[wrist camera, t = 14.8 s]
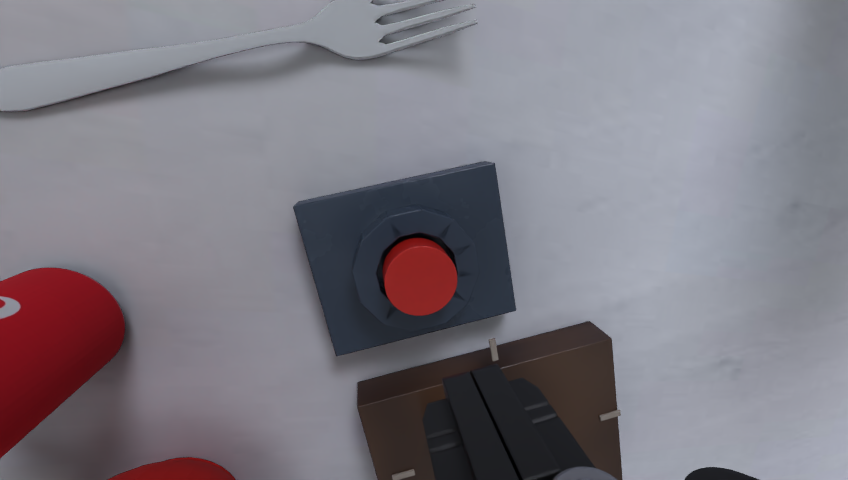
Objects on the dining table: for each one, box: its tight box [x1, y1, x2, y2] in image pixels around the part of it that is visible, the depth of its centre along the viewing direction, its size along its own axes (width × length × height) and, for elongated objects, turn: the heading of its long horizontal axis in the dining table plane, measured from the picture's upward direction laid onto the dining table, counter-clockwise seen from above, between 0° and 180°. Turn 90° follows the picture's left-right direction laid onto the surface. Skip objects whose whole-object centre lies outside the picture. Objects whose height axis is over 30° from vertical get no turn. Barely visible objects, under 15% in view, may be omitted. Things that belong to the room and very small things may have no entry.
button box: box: [293, 161, 516, 356], centre depth 22 cm, size 11×9×4 cm
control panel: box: [357, 321, 622, 480], centre depth 27 cm, size 16×15×3 cm
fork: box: [0, 0, 477, 112], centre depth 19 cm, size 3×24×2 cm, turn 102°
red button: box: [382, 238, 457, 316], centre depth 20 cm, size 4×4×2 cm
